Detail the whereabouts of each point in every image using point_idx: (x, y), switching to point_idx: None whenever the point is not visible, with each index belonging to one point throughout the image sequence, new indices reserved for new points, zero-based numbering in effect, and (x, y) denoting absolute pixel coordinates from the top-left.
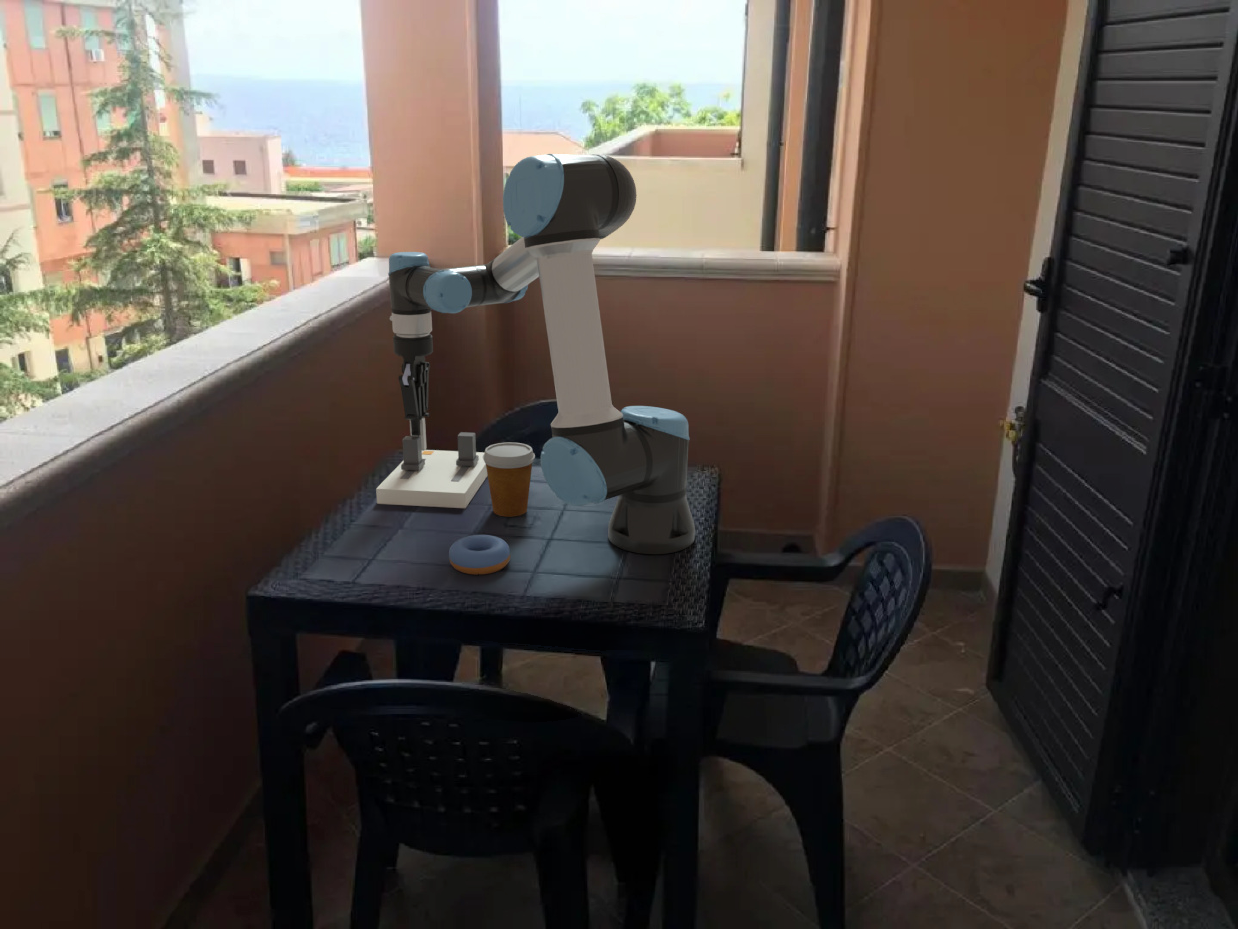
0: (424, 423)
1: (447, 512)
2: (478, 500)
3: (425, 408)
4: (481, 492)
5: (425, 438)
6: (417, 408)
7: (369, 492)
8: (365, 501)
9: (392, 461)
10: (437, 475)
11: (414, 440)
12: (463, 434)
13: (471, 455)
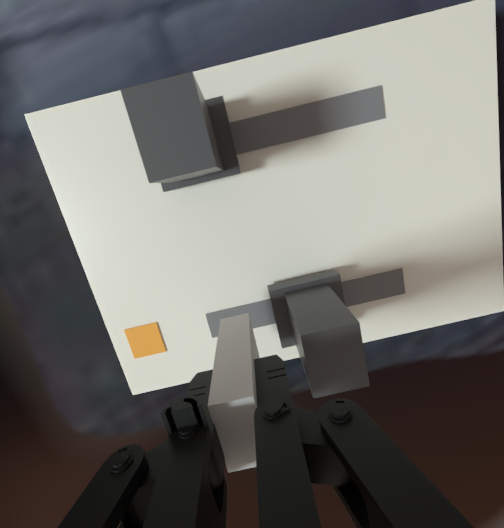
0: (224, 381)
1: (497, 67)
2: (376, 15)
3: (143, 464)
4: (304, 43)
5: (224, 338)
6: (370, 465)
7: (397, 353)
8: (460, 328)
9: (163, 423)
10: (342, 195)
11: (359, 334)
12: (179, 145)
13: (207, 109)
